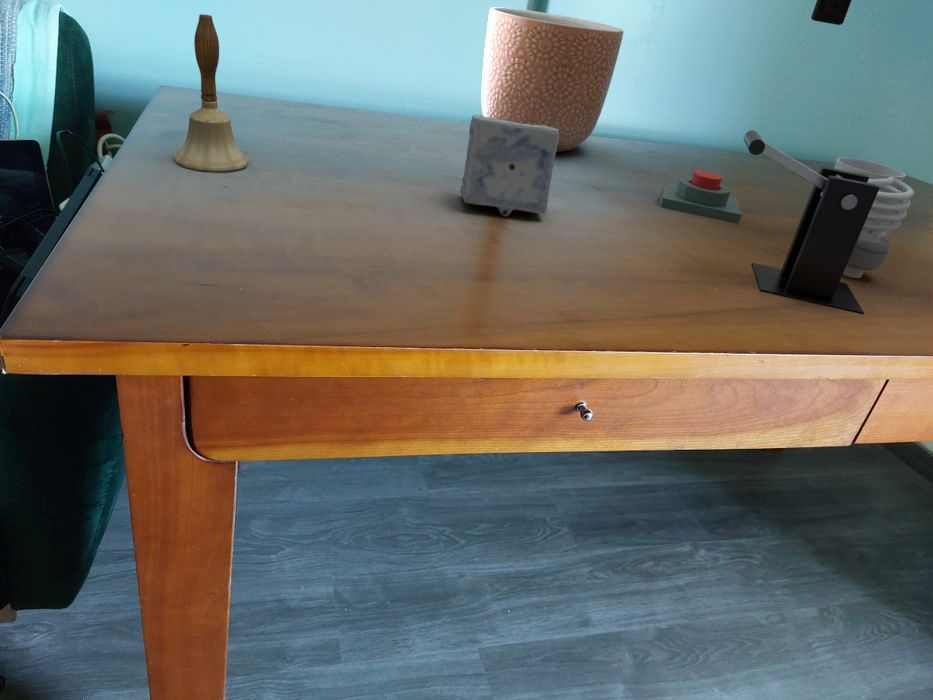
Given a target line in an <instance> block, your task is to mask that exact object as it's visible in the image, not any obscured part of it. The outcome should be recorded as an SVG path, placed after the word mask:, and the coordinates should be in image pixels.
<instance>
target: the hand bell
mask: <svg viewBox="0 0 933 700" xmlns="http://www.w3.org/2000/svg"><path fill="white" fill-rule="evenodd" d="M193 38H194V41H193V42H194V44H193V45H194V54H195V60H196V64H197V66H198V69H199V73H200V74H199V75H200V93H201V94H200V100H201V107H200V108H199V109H196V110H195V111H193V112H191V113H190V114H189V118H188V119H189V120H188V127H187V128H188V129H187V134H186V139H185V141H184V143H183V145H182V146H181V147H180V149H178V150H177V152H176V153H175V154H174V156H173V161H174V163H176V164H177V165H178V166H181V167H183V168H185V169H190V170H194V171H201V172H210V173H211V172H215V173H223V172H225V173H226V172H233V171H234V172H235V171H238V170H242V169H244V168H246V167H247V166H248V164H249V161H248V159H247V157H246V156H245V154H243V153H242V151H241V150H240V149H239V147H238V145H237V143H236V140H235V138H234V133H233V129H232V121H231V118H230V116H229V115H228V114H227V113H225V112H223V111H221V110H220V109H219V105H218V96H217V84H216V73H217V69H218V66H219V61H220V41H219V37H218V33H217V29H216V27H215V24H214V21H213V16H212V15H210V14H203V13H202V14H199V15H198V23H197V25H196V29H195V33H194V37H193Z"/></svg>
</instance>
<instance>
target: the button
mask: <svg viewBox="0 0 933 700" xmlns="http://www.w3.org/2000/svg"><path fill="white" fill-rule="evenodd" d="M691 178H692V181H691V184H692V185H694V186H697V187H700V188H704V189H709V190H718V189H719V186H720V184H722V183H721V182H722V180H723V177H722V175H721V176H720V175H719V174H717V173H714V172H710V171H704V170H694V171H693V175H692V177H691Z"/></svg>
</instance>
